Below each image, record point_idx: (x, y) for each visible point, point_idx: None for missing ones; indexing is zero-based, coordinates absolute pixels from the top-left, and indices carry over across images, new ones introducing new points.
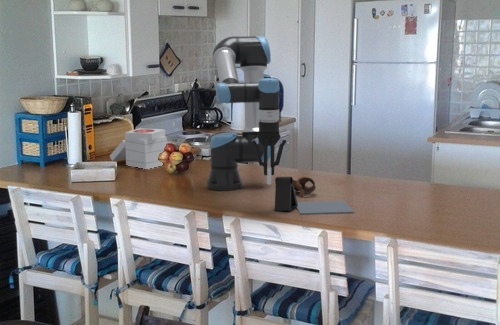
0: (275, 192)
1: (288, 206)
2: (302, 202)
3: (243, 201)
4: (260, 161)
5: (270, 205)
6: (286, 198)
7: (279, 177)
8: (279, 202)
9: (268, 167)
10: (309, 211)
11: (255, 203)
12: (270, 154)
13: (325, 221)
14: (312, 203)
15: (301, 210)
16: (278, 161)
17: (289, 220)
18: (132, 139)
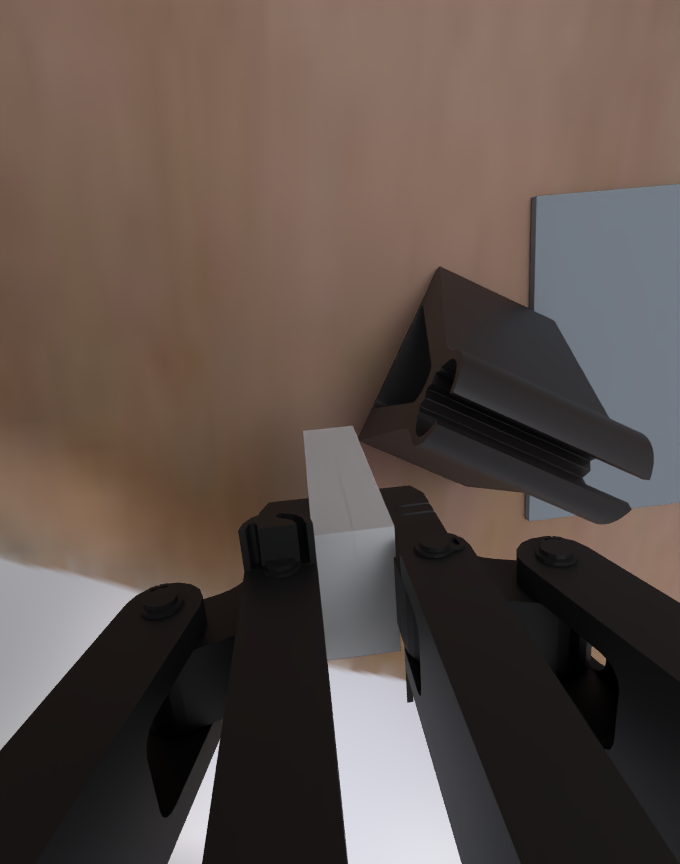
0: (390, 434)
1: (468, 483)
2: (605, 214)
3: (65, 104)
4: (164, 781)
5: (329, 267)
6: (475, 479)
7: (486, 450)
8: (407, 453)
9: (347, 655)
10: (598, 480)
11: (193, 191)
12: (473, 739)
13: None
14: (676, 251)
15: None
16: (594, 710)
17: None
18: None
